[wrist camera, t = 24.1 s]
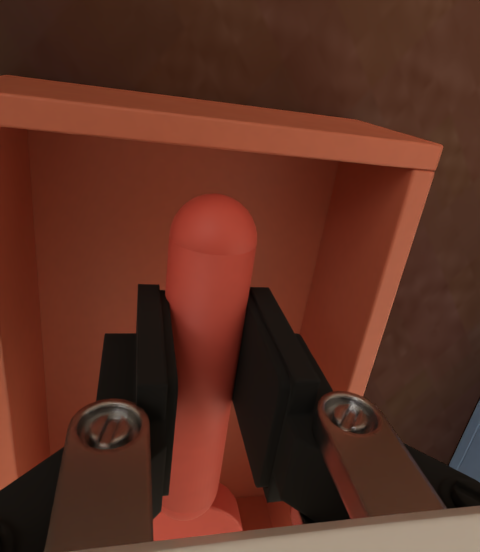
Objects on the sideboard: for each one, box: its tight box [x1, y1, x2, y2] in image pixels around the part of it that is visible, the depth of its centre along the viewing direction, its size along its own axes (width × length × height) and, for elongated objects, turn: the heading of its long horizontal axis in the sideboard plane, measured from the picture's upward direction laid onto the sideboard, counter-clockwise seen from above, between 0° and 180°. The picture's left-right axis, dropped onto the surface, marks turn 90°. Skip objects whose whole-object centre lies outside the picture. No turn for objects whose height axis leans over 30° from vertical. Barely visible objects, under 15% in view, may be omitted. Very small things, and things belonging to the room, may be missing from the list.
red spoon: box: [153, 194, 257, 541], centre depth 13 cm, size 14×4×2 cm, turn 172°
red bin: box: [0, 75, 443, 531], centre depth 14 cm, size 17×10×5 cm, turn 172°
